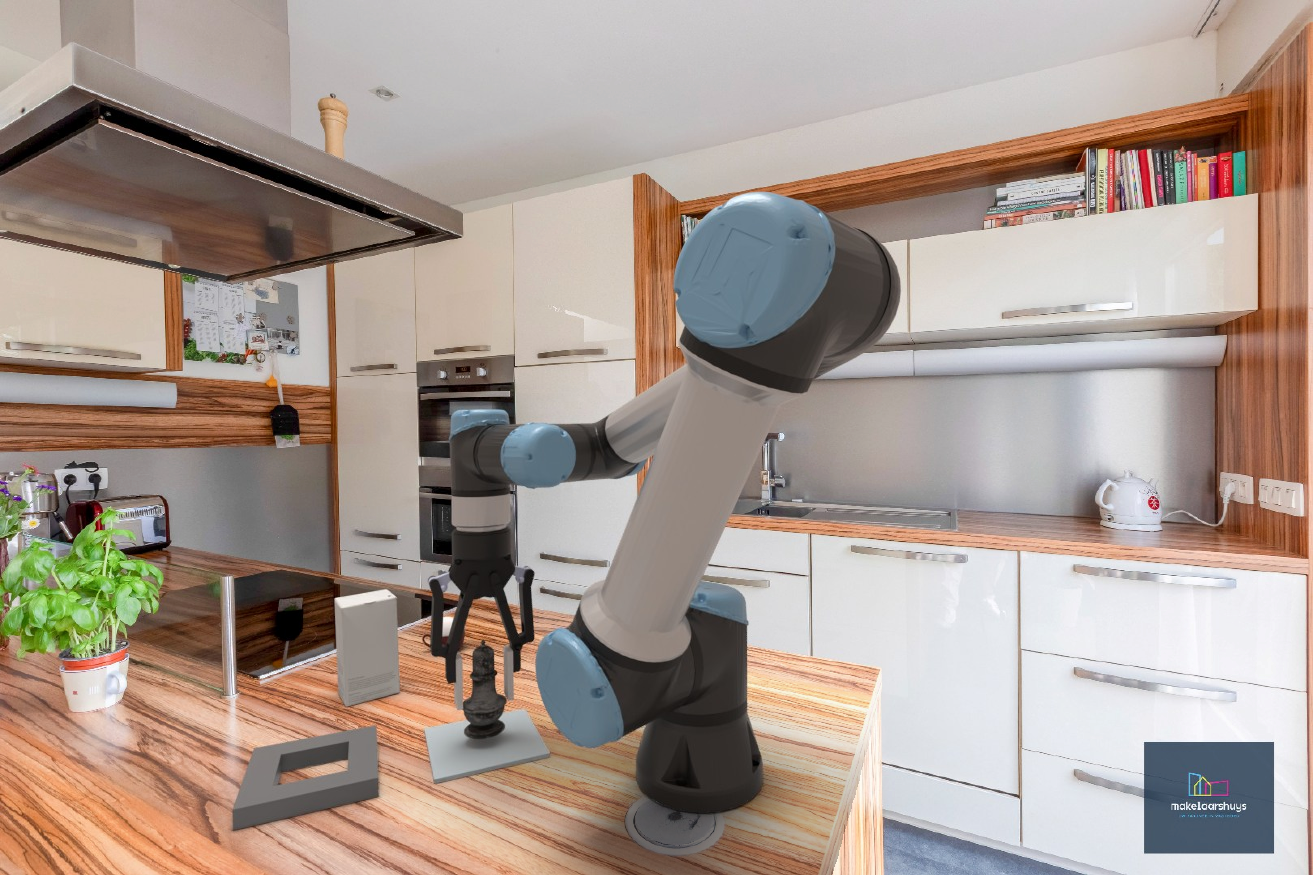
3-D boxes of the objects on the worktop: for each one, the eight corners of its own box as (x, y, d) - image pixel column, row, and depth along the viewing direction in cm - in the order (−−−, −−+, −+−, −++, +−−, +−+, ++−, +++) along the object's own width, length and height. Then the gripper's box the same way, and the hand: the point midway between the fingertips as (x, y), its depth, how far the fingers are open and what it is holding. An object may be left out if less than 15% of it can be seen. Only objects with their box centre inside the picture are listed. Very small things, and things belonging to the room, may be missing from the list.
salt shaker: (460, 742, 80) (458, 649, 80) (462, 722, 86) (460, 634, 86) (508, 736, 82) (506, 644, 82) (506, 716, 87) (505, 630, 87)
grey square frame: (378, 796, 72) (378, 777, 72) (232, 830, 66) (232, 809, 66) (376, 741, 85) (376, 724, 85) (254, 765, 79) (254, 748, 79)
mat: (550, 756, 80) (550, 752, 80) (434, 783, 75) (434, 779, 75) (525, 711, 93) (525, 708, 93) (424, 731, 87) (424, 728, 87)
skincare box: (391, 680, 105) (389, 587, 105) (401, 694, 100) (399, 596, 99) (335, 694, 100) (333, 596, 100) (343, 708, 95) (341, 605, 94)
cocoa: (419, 657, 117) (414, 593, 116) (434, 644, 123) (430, 583, 122) (469, 656, 116) (464, 592, 115) (482, 643, 122) (477, 582, 121)
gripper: (544, 517, 91) (546, 678, 91) (403, 527, 83) (406, 703, 83) (558, 525, 84) (561, 698, 84) (406, 536, 76) (410, 727, 76)
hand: (484, 700), depth 84 cm, fingers closed on salt shaker, 6 cm apart
